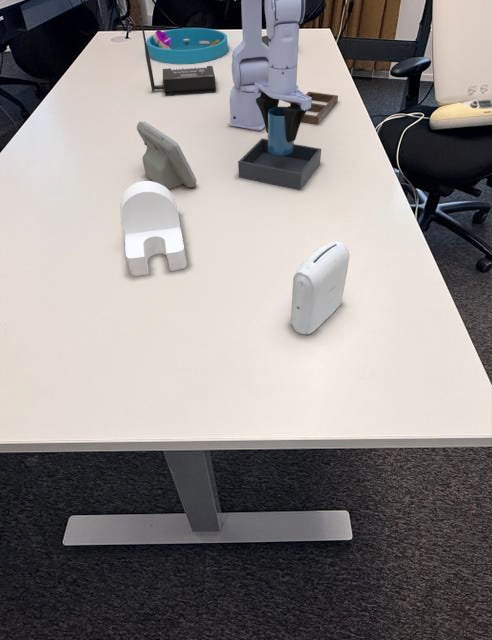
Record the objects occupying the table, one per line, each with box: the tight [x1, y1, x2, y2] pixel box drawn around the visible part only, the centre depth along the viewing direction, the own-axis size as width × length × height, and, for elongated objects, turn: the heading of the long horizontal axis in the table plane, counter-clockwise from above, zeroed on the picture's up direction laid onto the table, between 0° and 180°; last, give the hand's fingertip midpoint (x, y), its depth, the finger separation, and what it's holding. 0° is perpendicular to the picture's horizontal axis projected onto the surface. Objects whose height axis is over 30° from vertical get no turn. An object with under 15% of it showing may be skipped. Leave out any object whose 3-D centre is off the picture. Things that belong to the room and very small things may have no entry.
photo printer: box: [290, 240, 351, 336], centre depth 65 cm, size 10×4×12 cm, turn 140°
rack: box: [301, 91, 339, 125], centre depth 124 cm, size 9×17×2 cm, turn 156°
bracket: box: [119, 180, 188, 277], centre depth 79 cm, size 19×10×11 cm, turn 12°
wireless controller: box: [141, 24, 217, 97], centre depth 132 cm, size 20×14×17 cm
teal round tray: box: [146, 27, 229, 65], centre depth 161 cm, size 30×30×6 cm
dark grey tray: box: [237, 138, 322, 191], centre depth 100 cm, size 15×13×4 cm
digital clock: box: [136, 121, 197, 191], centre depth 96 cm, size 16×9×11 cm, turn 26°
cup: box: [267, 106, 295, 156], centre depth 95 cm, size 6×6×8 cm
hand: (281, 136), depth 96 cm, fingers closed on cup, 6 cm apart
